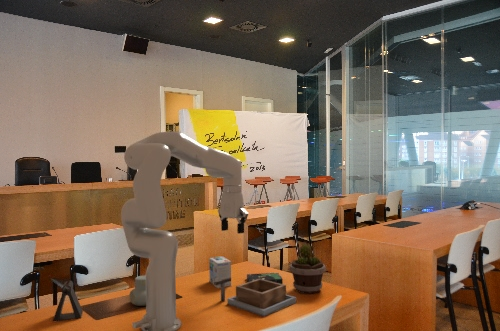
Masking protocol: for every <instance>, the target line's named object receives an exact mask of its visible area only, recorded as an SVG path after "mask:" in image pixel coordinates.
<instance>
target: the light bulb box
mask: <svg viewBox="0 0 500 331" xmlns="http://www.w3.org/2000/svg"><path fill="white" fill-rule="evenodd" d="M208 261H209V262H208V263H209V266H208V267H209V268H208V270H209V275H208V276H209V278H208V279H209V283H211V284H212V285H213V286H214V287H215V288H217V289H219V288H220V289H221V284H219V285H214V282H215V281H218V280H221V279H225V278H228V277H230V278H231V279H232V261H231V260H230V259H228V258H226V257H224V256H223V255H222V256H221V255H220V256H215V257H209V260H208ZM226 287H232V280H231V281H229V282H226V283H225V288H226Z"/></svg>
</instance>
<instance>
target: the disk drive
mask: <svg viewBox="0 0 500 331" xmlns="http://www.w3.org/2000/svg"><path fill="white" fill-rule="evenodd" d="M259 278H260V279H264V280H268V281H272V282H276V283H280V284H283V277H282V276H281V275H280V273H279V272H266V273H265V272H264V273H249V274H248V273H247V274H246V280H247V282H250V281H253V280H256V279H259ZM283 285H284V284H283Z"/></svg>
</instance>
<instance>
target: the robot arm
mask: <svg viewBox="0 0 500 331" xmlns="http://www.w3.org/2000/svg"><path fill="white" fill-rule="evenodd" d="M171 157H174V158H176V159H178V160H180V161H182V162H184V163H186V164H188V165H190V166H192V167H195V168H199V169H205V174H207V176H209V177H211V178H215V179H222V189H223V190H222V193H221V198H220V206H219V207H220V208H218V209H217V212H218V216H219V217H218V218H219V220H220V222H221V223H220V226H221V231H228V230H229V220H228V219H236V220H237V222H238V223H237V226H236V228H237V234H239V235H240V234H244V233H245V224H246V221H247V219H248V216H249V212H248V211H247V210H246V209H245V205H244V196H243V193H242V192H243V191H242V190H243V188H242V181H243V179H242V178H243V177H242V160H240V159H237V158H236V156H235V157H234V156H233V155H231V154H230V153H228V152H226V151H222V150H220V149H216V148H213V147H210V146H208V145H207V146H206V145H203V144H201V143H200V142H199V141H196V140H195V139H193V138H191V137H190V136H189V135H187V134H185V133H183V132H181V131H176V130H175V131H160V132H156V133H154V134H151V135H148V136H147V137H145V138H143V139H140V140H138V141H136V142H134V143H132V144H130V145H129V146H128V147H126V149H125V152H124V158H123V159H124V163H125V164H126V166H128V167H129V168H131V169H132V170H135V171H136V173H135V175H134V178H133V180H132V181H133V182H132V190H133V196H134V197H133V198H129V199H128V200H127V201H126V202H125V203H124V204H123V206H122V208H121V211H120V212H121V213H120V219H121V223H122V228H123V232H124V236H125V240H126V243H127V247H128V249H129V250H130V253H132V254H133V255H134V256H136V257H139V258H144V259H149V260H150V261H149V263H148V265H147V268H146V271H145V275H146V305H145V309H146V310H145V312H146V313H145V314H143V315H142V316H143V318H141V320H138V321H134V322H132V324H131V325H132V328H133V329H135V330H136V329H138V328H140V329H141V331H177V330H178V329H180V327H181V326H182V321H181V319H179V318H178V317H177V299H176V298H177V292H176V291H177V288H176V262H177V254H178V249H179V243H178V242H179V241H178V238H177V237H176V235H175V234H174V233H172V232H171V231H168V230H165V229H164V230H162V229H160V228H162V227H164V226H165V224H166V223H167V218H168V216H167V215H168V214H167V210H166V205H165V202H164V201H165V200H164V197H163V196H164V195H163V192H162V186H161V180H162V177H163V174H164V172H165V170H166V168H167V167H168V166H169V163H170V160H171Z"/></svg>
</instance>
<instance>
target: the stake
mask: <svg viewBox="0 0 500 331" xmlns="http://www.w3.org/2000/svg"><path fill="white" fill-rule="evenodd" d="M229 281H231V282H232V277H231V278H230V277H228V278H225V279H221V280H218V281H215V282H214V285H219V284H221V288H220V301H221V302H222V303H224V302H226V287H225V283H226V282H229ZM214 285H213V286H214Z"/></svg>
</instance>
